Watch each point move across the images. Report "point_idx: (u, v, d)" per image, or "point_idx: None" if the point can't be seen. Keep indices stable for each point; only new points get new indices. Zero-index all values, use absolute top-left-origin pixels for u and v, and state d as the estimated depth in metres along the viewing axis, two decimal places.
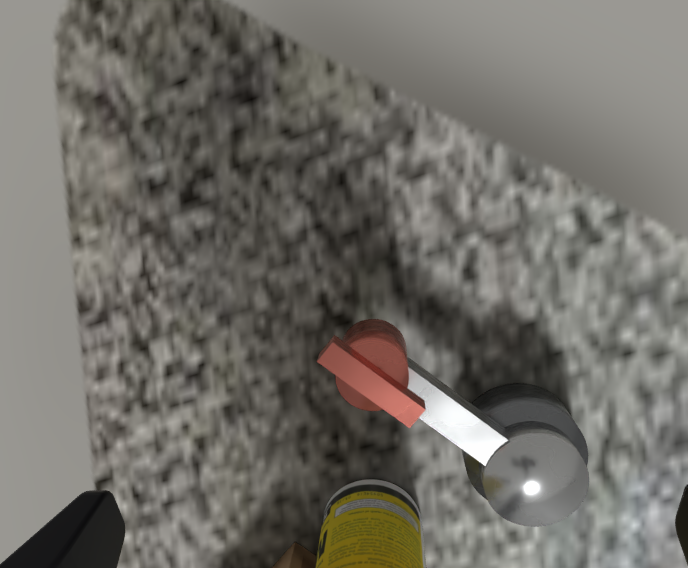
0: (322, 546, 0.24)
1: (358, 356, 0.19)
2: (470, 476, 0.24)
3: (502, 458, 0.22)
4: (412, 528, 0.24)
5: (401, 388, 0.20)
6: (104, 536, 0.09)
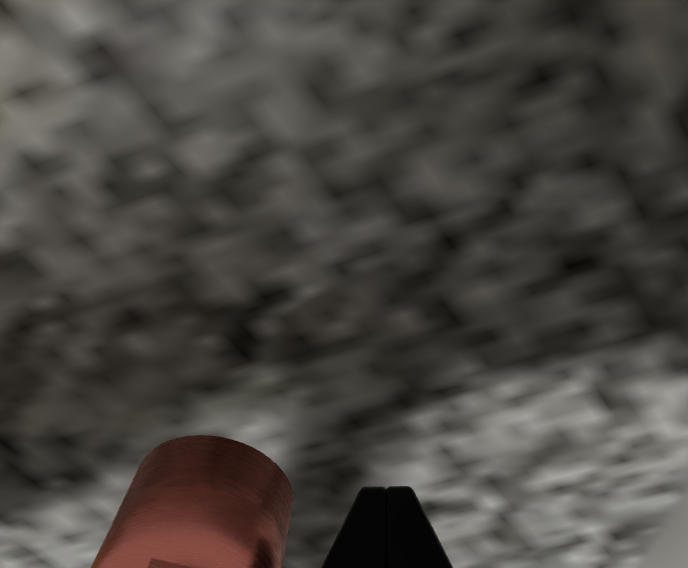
0: None
1: None
2: None
3: None
4: None
5: None
6: None
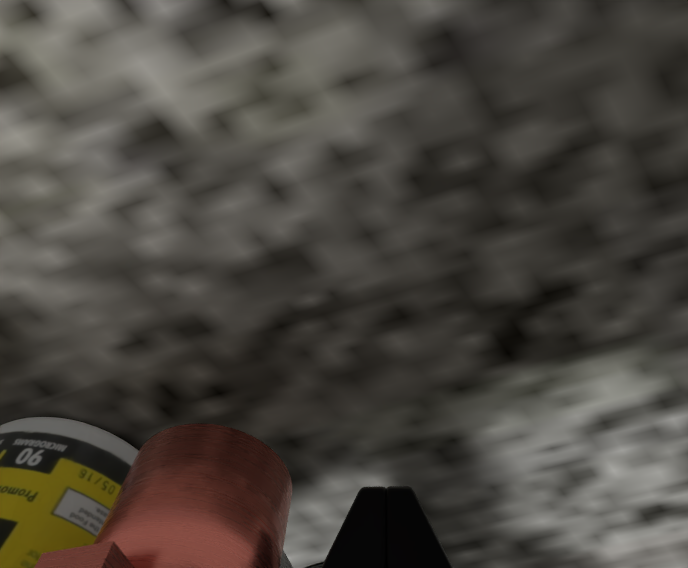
0: None
1: None
2: None
3: None
4: None
5: None
6: None
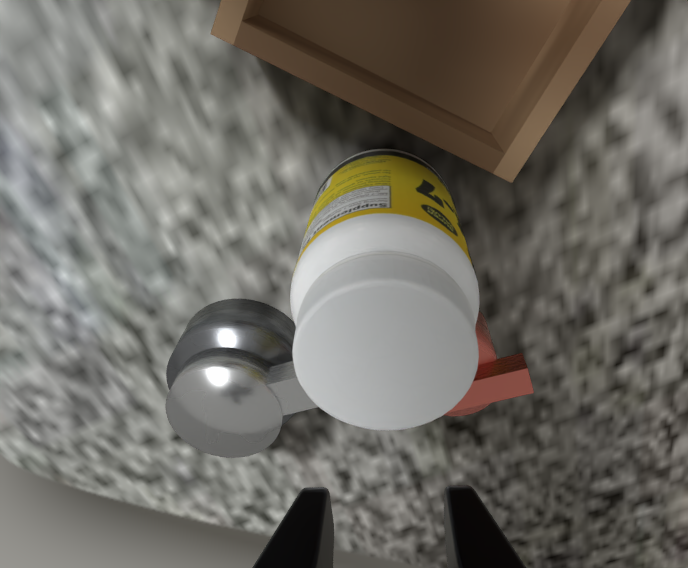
0: None
1: None
2: (286, 357, 0.20)
3: (268, 404, 0.19)
4: None
5: None
6: (328, 535, 0.08)
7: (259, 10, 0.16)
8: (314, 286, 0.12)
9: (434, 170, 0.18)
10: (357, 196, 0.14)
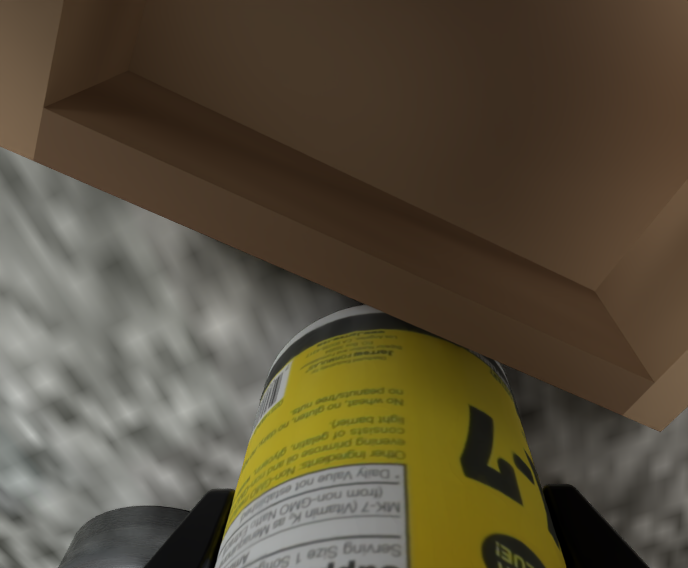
0: None
1: None
2: None
3: None
4: None
5: None
6: None
7: (128, 63, 0.07)
8: None
9: None
10: (331, 504, 0.06)
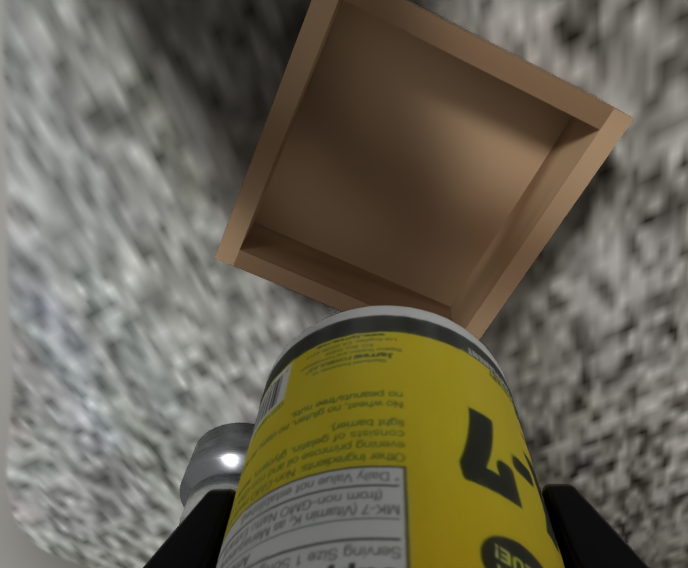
0: None
1: None
2: None
3: None
4: None
5: None
6: None
7: (255, 220, 0.19)
8: None
9: (480, 346, 0.10)
10: (331, 505, 0.06)
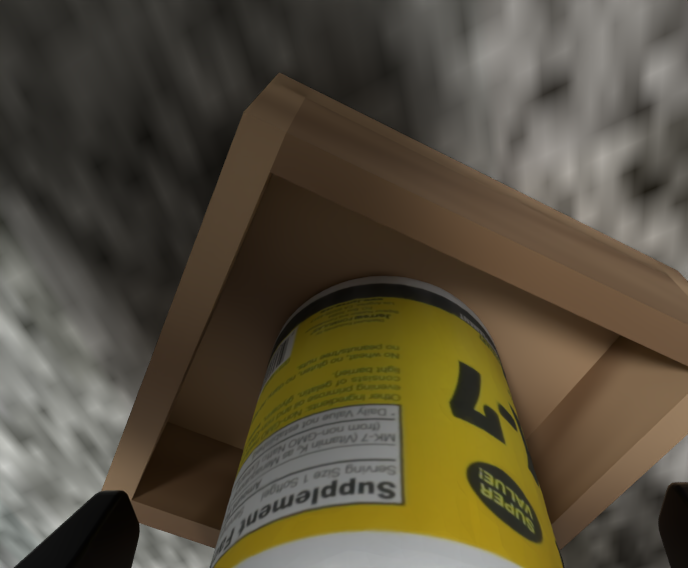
0: None
1: None
2: None
3: None
4: None
5: None
6: (119, 536, 0.09)
7: (167, 421, 0.13)
8: None
9: (471, 313, 0.11)
10: (334, 436, 0.07)
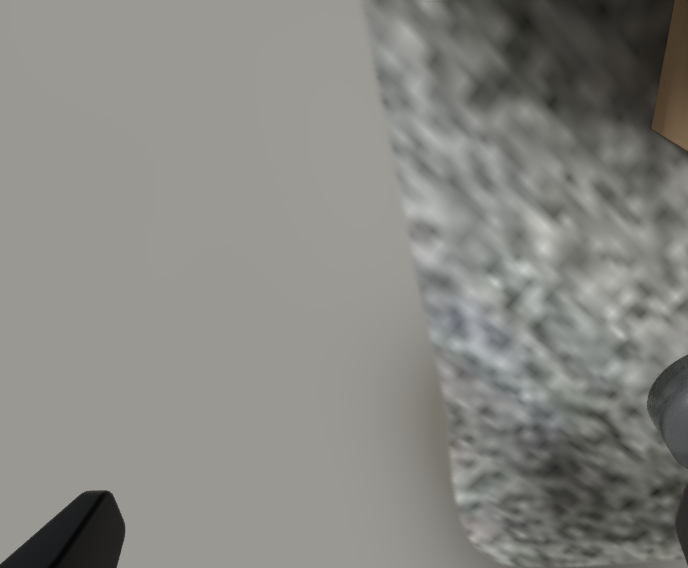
0: None
1: None
2: None
3: None
4: None
5: None
6: (104, 536, 0.09)
7: None
8: None
9: None
10: None
